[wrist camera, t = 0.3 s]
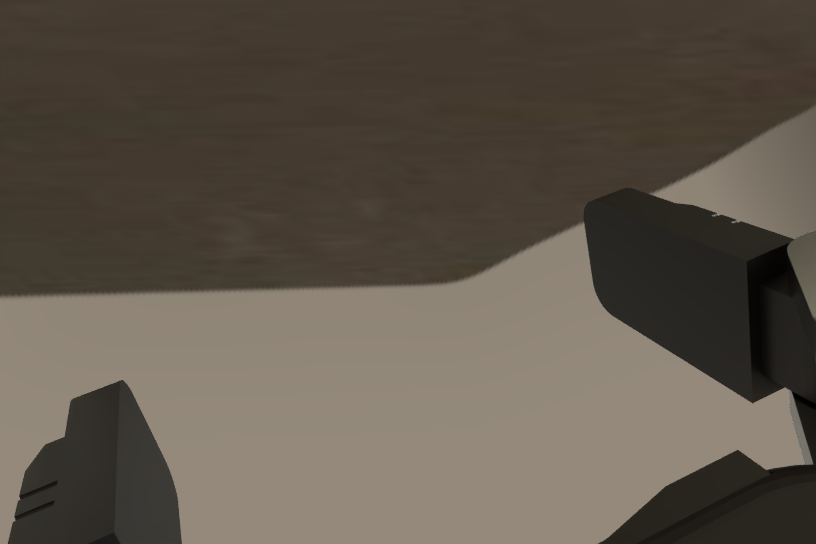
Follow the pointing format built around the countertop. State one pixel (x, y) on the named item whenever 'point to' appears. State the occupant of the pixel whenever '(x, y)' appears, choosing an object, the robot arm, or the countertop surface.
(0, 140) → the countertop surface
